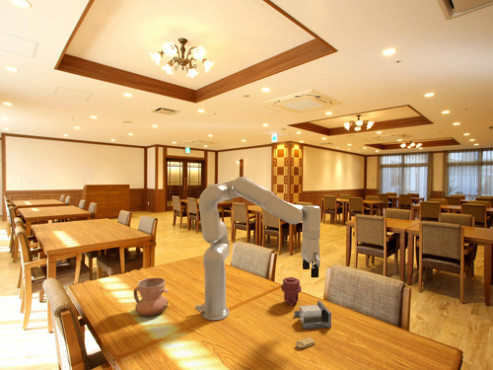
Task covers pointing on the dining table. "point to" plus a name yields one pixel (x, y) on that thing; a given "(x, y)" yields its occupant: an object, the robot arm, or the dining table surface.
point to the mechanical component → (291, 289)
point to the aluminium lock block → (310, 314)
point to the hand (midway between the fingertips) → (310, 273)
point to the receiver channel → (325, 317)
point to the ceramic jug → (151, 297)
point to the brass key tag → (305, 343)
